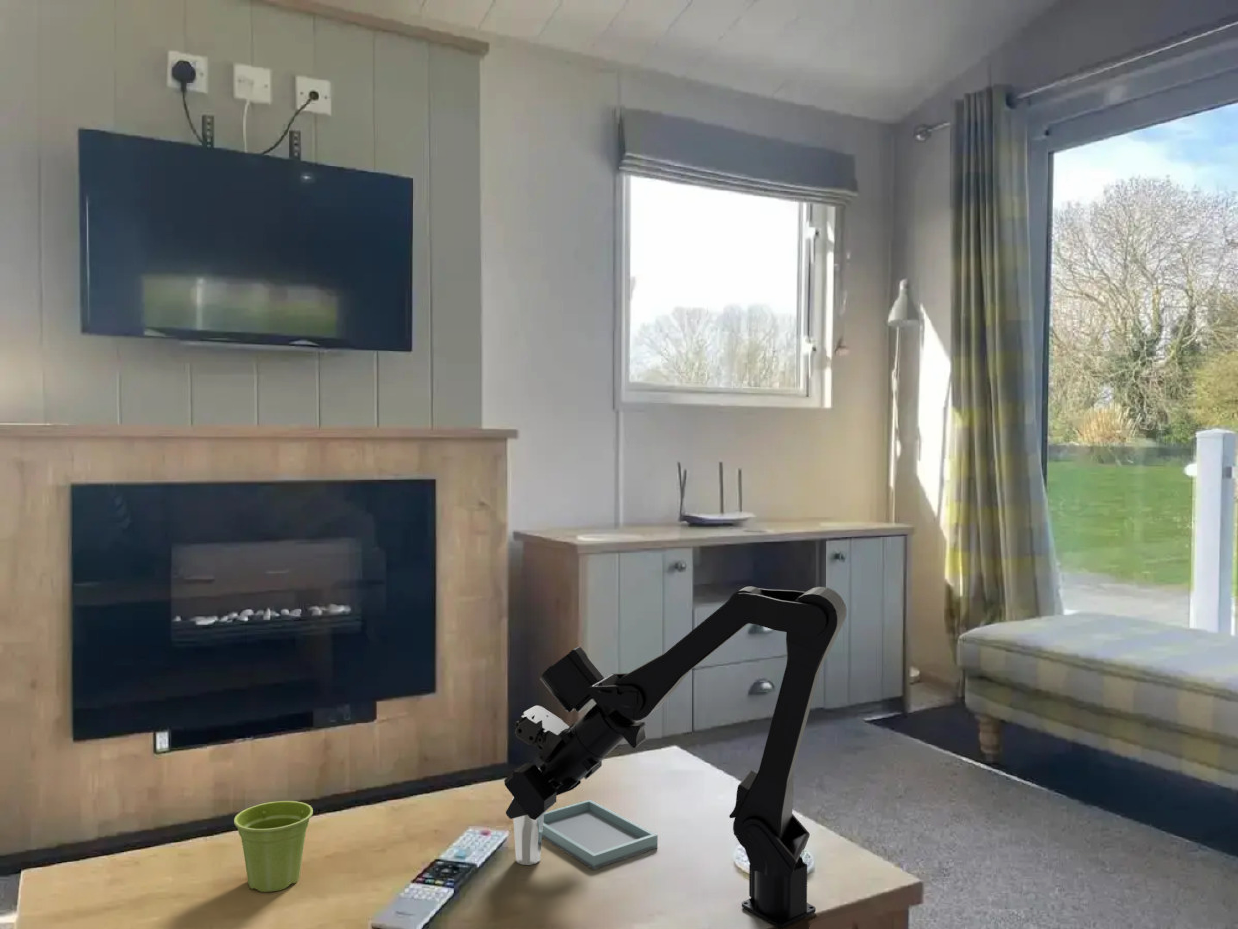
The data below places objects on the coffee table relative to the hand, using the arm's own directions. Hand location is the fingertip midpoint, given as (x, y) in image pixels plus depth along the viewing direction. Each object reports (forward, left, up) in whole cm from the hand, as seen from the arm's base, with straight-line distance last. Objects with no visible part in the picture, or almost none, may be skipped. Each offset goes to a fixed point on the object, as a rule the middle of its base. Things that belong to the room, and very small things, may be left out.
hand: (516, 809), depth 124 cm
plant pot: (+13, +28, -7) cm, 32 cm away
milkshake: (-1, -1, -7) cm, 7 cm away
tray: (-1, -12, -7) cm, 14 cm away
